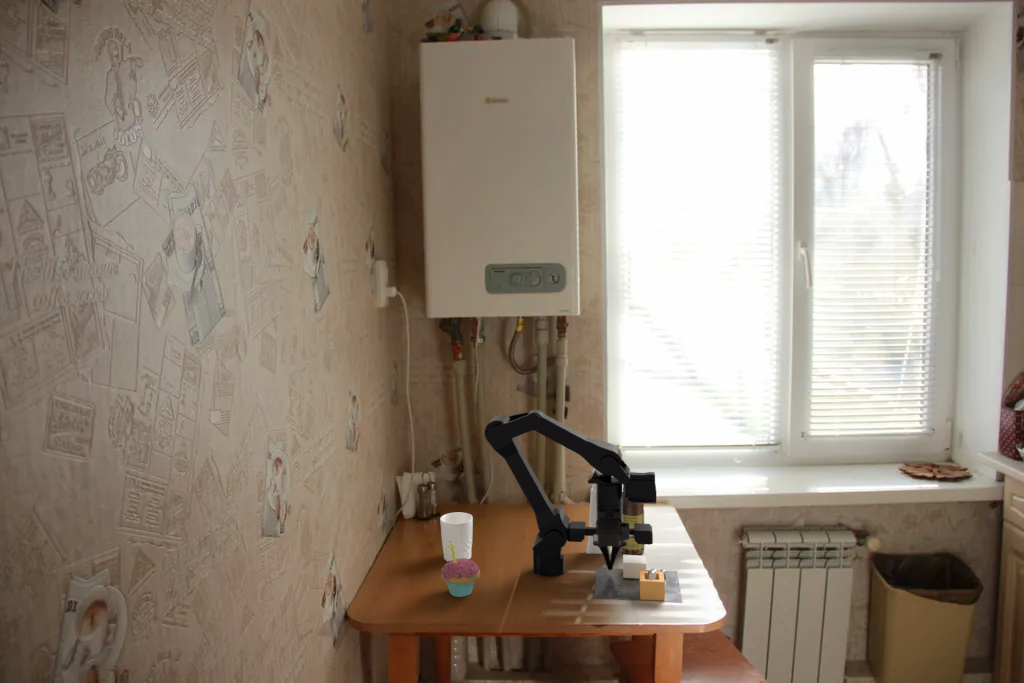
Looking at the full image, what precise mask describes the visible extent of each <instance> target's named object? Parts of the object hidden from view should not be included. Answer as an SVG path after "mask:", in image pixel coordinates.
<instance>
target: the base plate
mask: <svg viewBox="0 0 1024 683" xmlns="http://www.w3.org/2000/svg"><path fill="white" fill-rule="evenodd" d="M646 571H648V579H655V580H656V571H659V572H663V574H664V580H665V601H663V600H642V599H640V591H639V578H623V568H614V567H613V568H612V570H608V568H607V567H596V574H595V575H596V576H595V584H594V586H595V587H594V596H593V598H594V599H605V600H622V601H624V600H625V601H639V602H640V601H641V602H642V601H644V602H663V603H678V604H679V603H680V604H683V598H682V593H681V587H680V586H681V585H680V580H679V575H678V571H676V570H671V571H670V570H667V569H664V568H661V569H660V570H658V569H656V568H651V569H646Z"/></svg>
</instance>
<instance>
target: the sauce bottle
mask: <svg viewBox="0 0 1024 683" xmlns="http://www.w3.org/2000/svg"><path fill="white" fill-rule="evenodd" d="M631 472H632V473H638V472H636V471H631V470H630V473H631ZM644 506H645V505H644V503H631V501H628V498H626V493H625V484H622V516H623V523H629V528H634V523H641V524H645V508H644ZM645 545H646V544H638V543H637V542H636V541H635V537H629V540H626V546H625V547H621V548H620V550H619V551H620V552H621V553H623V554H624V555H642V554H643V553H644V551H645Z"/></svg>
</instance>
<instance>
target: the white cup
mask: <svg viewBox="0 0 1024 683" xmlns="http://www.w3.org/2000/svg"><path fill="white" fill-rule="evenodd" d="M473 517H474V516H473V515H472V514H470V513H467V512H459V511H458V512H457V511H456V512H449V513H446V514H443V515H442V516H440V519H439V520H440V531H441V532H440V536H441V544H442V551H443V559H444V561H446V562H448V561H452V560H453V557H452V551H451V546H450V544H451V543H453V546H454V551H455V556H456V559H457V558H459V559H463V558H465V559H470V560H471V558H472V546H473V529H474V527H473V521H474V519H473ZM450 540H451V542H450Z"/></svg>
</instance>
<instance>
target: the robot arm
mask: <svg viewBox="0 0 1024 683" xmlns="http://www.w3.org/2000/svg"><path fill="white" fill-rule="evenodd" d="M533 431H534V432H537V433H539V434H540V435H542V436H544V437H546V438H548V439H549V440H551V441H553V442H555V443H557V444H558V445H561V446H562V447H565V448H566V449H569V450H570V451H572V452H574V453H576V454H577V455H579V456H580V457H581V458H583V459H584V460H585V461H586V463H588V465H589V466H591V467H592V468H593V467H594V468H595V469H596V470H597V471H599V472H600V473H601V474H599V473H598V472H597V471H596V470H595V471H594V472H593V474H592V473H591V474H590V475H589V476H588V478H587V483H588V484H590V485H592V484H596V498H597V521H596V527H589V526H587V522H586V521H577V520H576V521H574V520H572V521H571V518H570V517H569V516H568V515H567V513H566V512H565V510H564V506H563V505H562V504H560V505H558V506H557V507H556V505H554V504H553V503H552V502H551V501H550V499H549V497H548V495H547V494H546V492H545V489H544V488H543V486H542V484H541V483H540V480H539V479H538V478H537V475H536V473H535V472H534V470H533V468H532V467H531V465H530V463H529V461H528V459H527V457H526V456H525V454H524V452H523V450H522V447H521V444H520V439H519V436H522V435H524V434H526V433H529V432H533ZM483 434H484V438H485V440H486V441H487V443H488V444H489V445H490V446H491V448H492V449H493V451H494V452H496V453H497V454H498V455H499V456H500V457H501V458H502V459H504V461H505V462H506V464H507V466H508V468H509V469H510V472H511V474H512V476H513V477H514V478H515V480H516V482H517V484H518V486H519V488H520V489H521V491H522V492H523V495H524V497H525V498H526V500H527V502H528V503H529V504H528V505H529V506H530V507H531V509H532V511H533V513H534V516H535V519H536V525H537V528H538V533H537V534H536V536H535V539H534V542H533V545H532V560H533V561H532V562H533V565H532V568H533V569H532V570H533V572H532V573H533V574H536V575H538V576H540V577H548V578H550V577H555V576H561V575H564V574H565V554H563V547H564V546H565V545H566V544H567V542H571V543H572V542H573V543H582V542H583V541H584V540H585V538H586V537H588V536H593V538H594V539H593V545H594V546H598V547H599V548H600V550H601V552H602V554H601V555H602V556H603V559H604V561H605V562H604V563H605V565H606V568H608V570H612V568H614V564H615V561H616V559H617V557H618V553H619V552H620V551H621V550H620V548H621V547H625V546H626V540H629V537H635V541H636V542H637V543H638V544H645V545H650V546H651V545H653V544H654V543H653V542H654V540H653V539H654V538H653V537H654V536H653V535H654V534H653V526H652V525H651V524H650V523H644V524H641V523H634V528H629V523H623V516H622V492H623V484H625V493H626V498H628V501H631V503H644V504H649V505H650V504H652V505H656V504H657V487H656V473H655V471H647V472H637V473H632V472H633V471H631V469H630V467H629V466H628V465H627V463H626V462H625V461H624V460H623V454H622V451H621V449H620V448H619V447H618V446H617V445H616V444H614V443H610V442H607V441H604V440H601V439H595V438H591V437H589V436H586V435H584V434H582V433H580V432H579V431H577V430H576V429H573V428H572V427H569V426H568V425H566V424H563V423H562V422H560V421H559V420H556V419H554V418H553V417H551V416H549V415H547V414H545V413H544V412H543V411H541V410H539V409H532V410H530V411H526V412H521V413H515V414H512V415H504V414H498V415H496V416H494V417H493V418H492V419H491V420H490V421H489V422H488V424H487V425H486V426H485V429H484V433H483ZM594 468H593V469H594ZM630 471H631V473H630ZM608 546H610V547H611V549H610V550H611V554H609V548H608Z"/></svg>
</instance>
